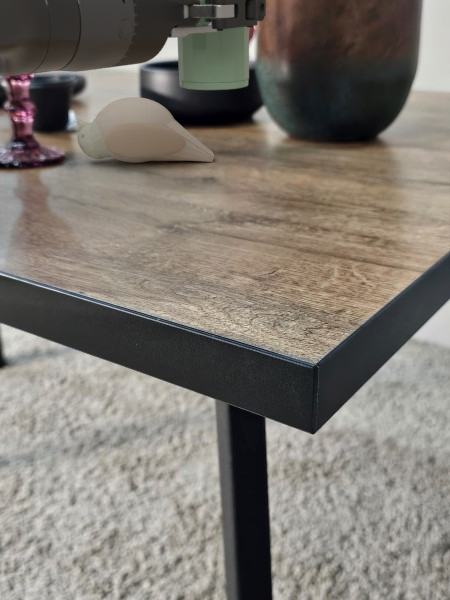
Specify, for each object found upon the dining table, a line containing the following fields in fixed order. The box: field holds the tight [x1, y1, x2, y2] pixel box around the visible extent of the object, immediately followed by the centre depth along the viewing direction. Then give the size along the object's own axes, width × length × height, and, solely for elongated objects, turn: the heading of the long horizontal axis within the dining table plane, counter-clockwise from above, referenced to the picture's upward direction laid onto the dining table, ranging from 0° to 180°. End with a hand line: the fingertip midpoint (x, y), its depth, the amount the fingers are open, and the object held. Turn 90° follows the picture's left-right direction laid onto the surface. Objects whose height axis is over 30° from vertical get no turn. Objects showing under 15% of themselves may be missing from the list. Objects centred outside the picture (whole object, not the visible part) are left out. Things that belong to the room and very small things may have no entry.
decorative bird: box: [75, 96, 215, 164], centre depth 87 cm, size 9×16×8 cm, turn 97°
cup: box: [177, 0, 250, 91], centre depth 64 cm, size 6×6×11 cm
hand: (228, 6), depth 66 cm, fingers closed on cup, 6 cm apart
